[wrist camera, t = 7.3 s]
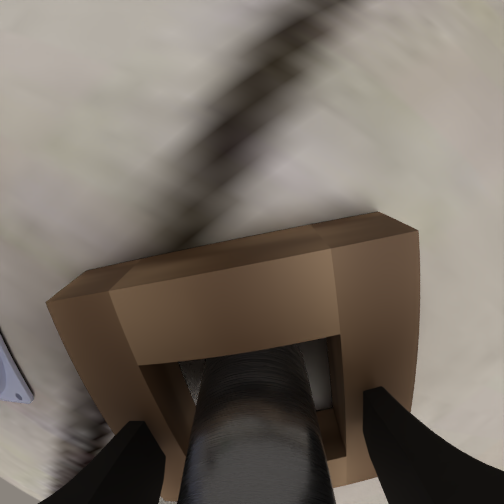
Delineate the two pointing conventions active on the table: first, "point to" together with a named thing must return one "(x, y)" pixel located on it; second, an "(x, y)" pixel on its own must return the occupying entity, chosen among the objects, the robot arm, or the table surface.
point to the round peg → (256, 434)
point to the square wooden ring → (250, 326)
